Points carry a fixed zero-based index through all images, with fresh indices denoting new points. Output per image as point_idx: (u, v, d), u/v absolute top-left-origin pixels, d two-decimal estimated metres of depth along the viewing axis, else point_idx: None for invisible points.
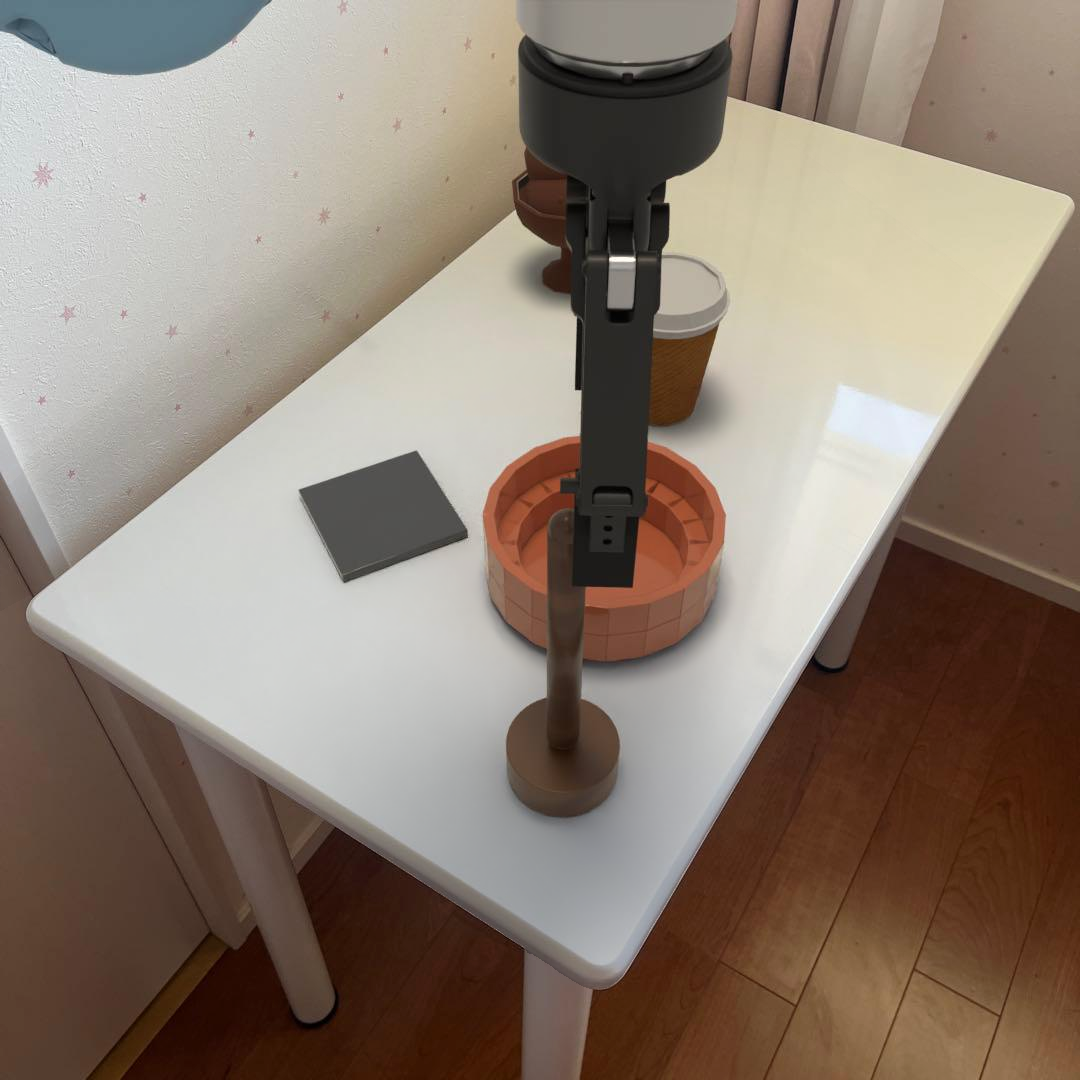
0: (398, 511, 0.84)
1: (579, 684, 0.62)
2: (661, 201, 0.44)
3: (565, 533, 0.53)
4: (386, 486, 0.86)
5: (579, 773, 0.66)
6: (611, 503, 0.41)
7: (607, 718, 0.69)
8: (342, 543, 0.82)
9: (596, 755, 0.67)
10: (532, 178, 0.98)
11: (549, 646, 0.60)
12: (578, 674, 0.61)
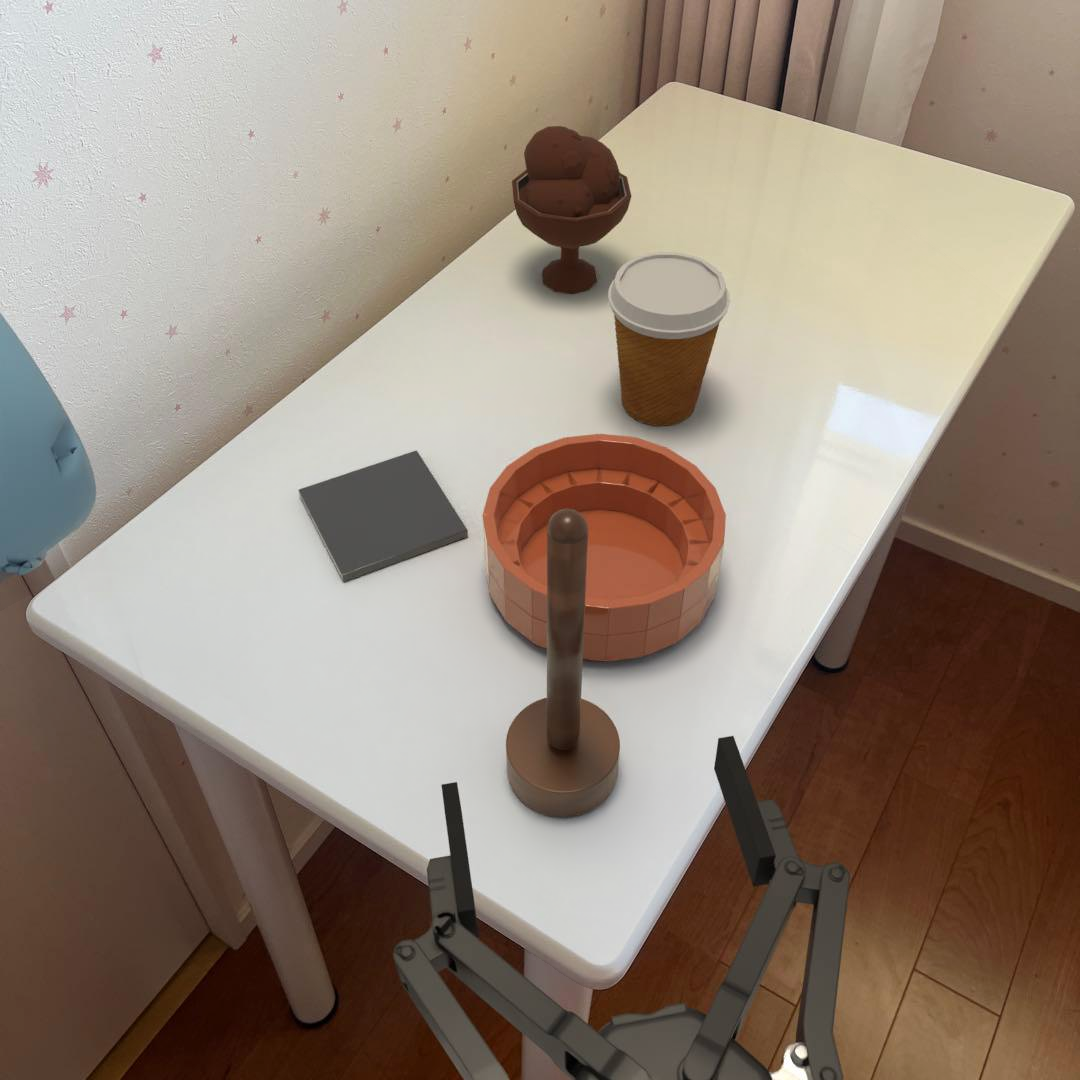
0: (398, 511, 0.84)
1: (579, 684, 0.62)
2: None
3: (565, 533, 0.53)
4: (386, 486, 0.86)
5: (579, 773, 0.66)
6: (400, 972, 0.48)
7: (607, 718, 0.69)
8: (342, 543, 0.82)
9: (596, 755, 0.67)
10: (532, 178, 0.98)
11: (549, 646, 0.60)
12: (578, 674, 0.61)
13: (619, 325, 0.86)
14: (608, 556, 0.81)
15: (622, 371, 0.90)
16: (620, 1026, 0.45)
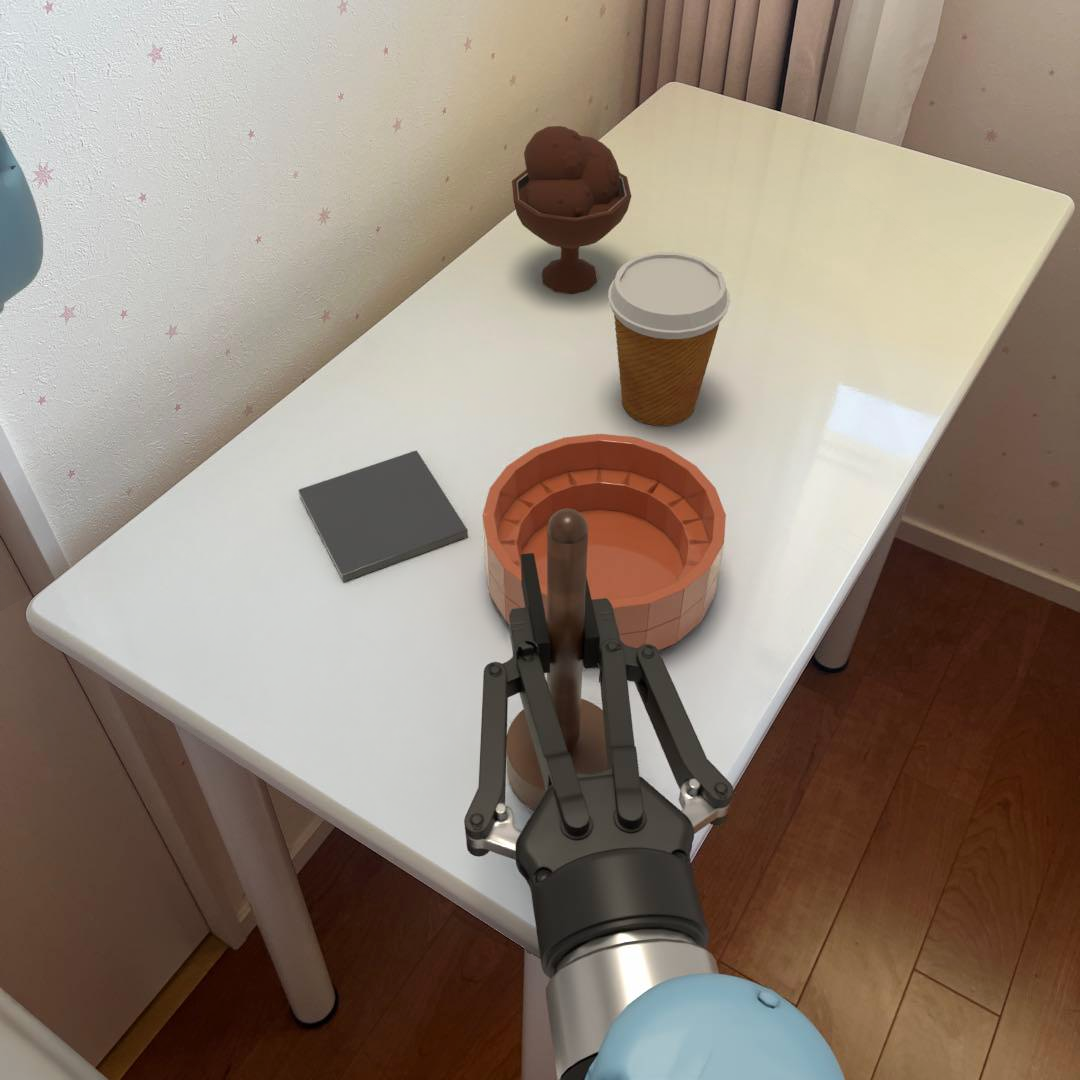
0: (398, 511, 0.84)
1: (579, 684, 0.62)
2: None
3: (565, 533, 0.53)
4: (386, 486, 0.86)
5: None
6: None
7: None
8: (342, 543, 0.82)
9: (596, 755, 0.67)
10: (532, 178, 0.98)
11: None
12: (578, 674, 0.61)
13: (619, 325, 0.86)
14: (608, 556, 0.81)
15: (622, 371, 0.90)
16: None
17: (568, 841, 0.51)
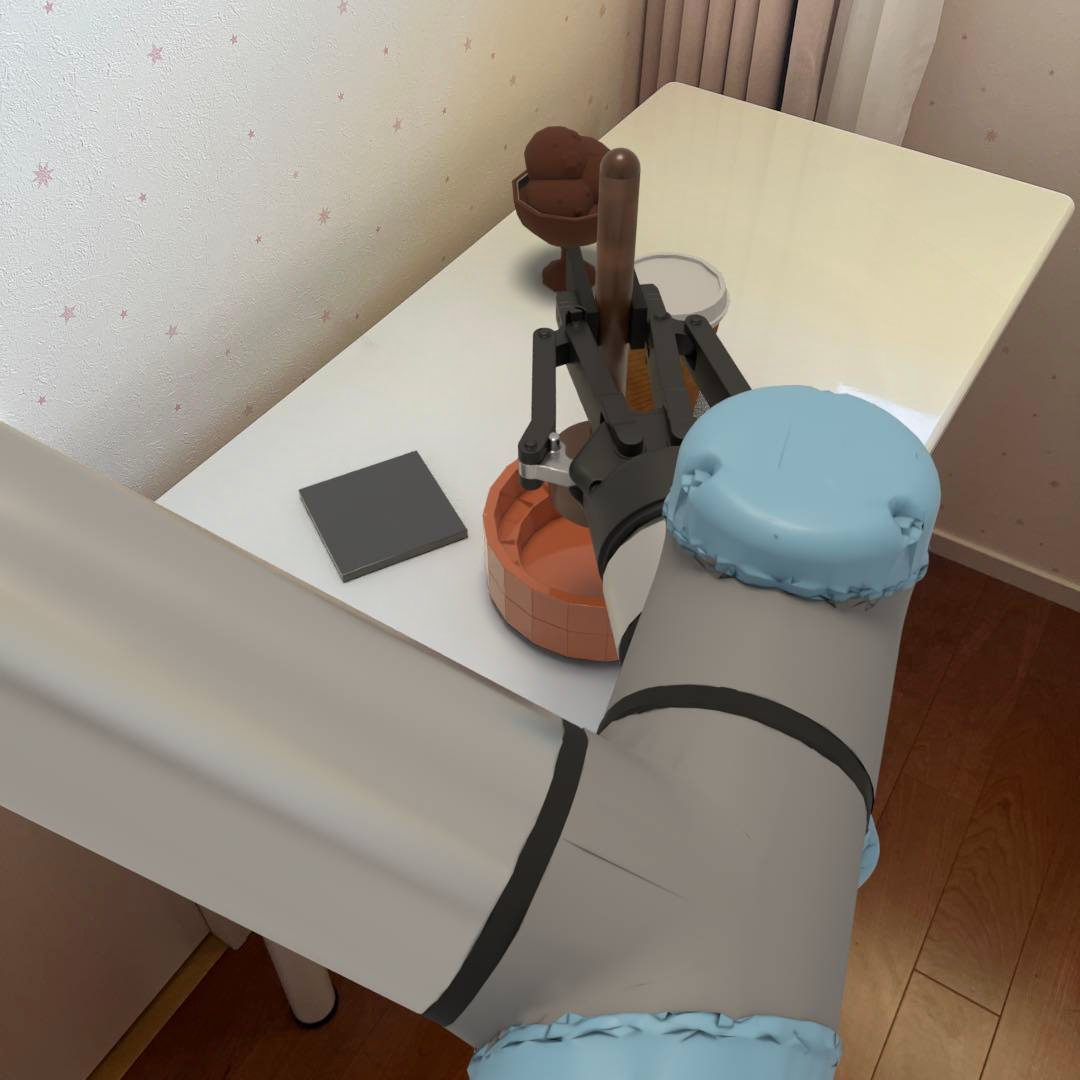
0: (398, 511, 0.84)
1: (624, 373, 0.63)
2: None
3: (619, 166, 0.53)
4: (386, 486, 0.86)
5: None
6: None
7: None
8: (342, 543, 0.82)
9: None
10: (532, 178, 0.98)
11: None
12: (624, 359, 0.62)
13: None
14: None
15: None
16: None
17: (622, 461, 0.51)
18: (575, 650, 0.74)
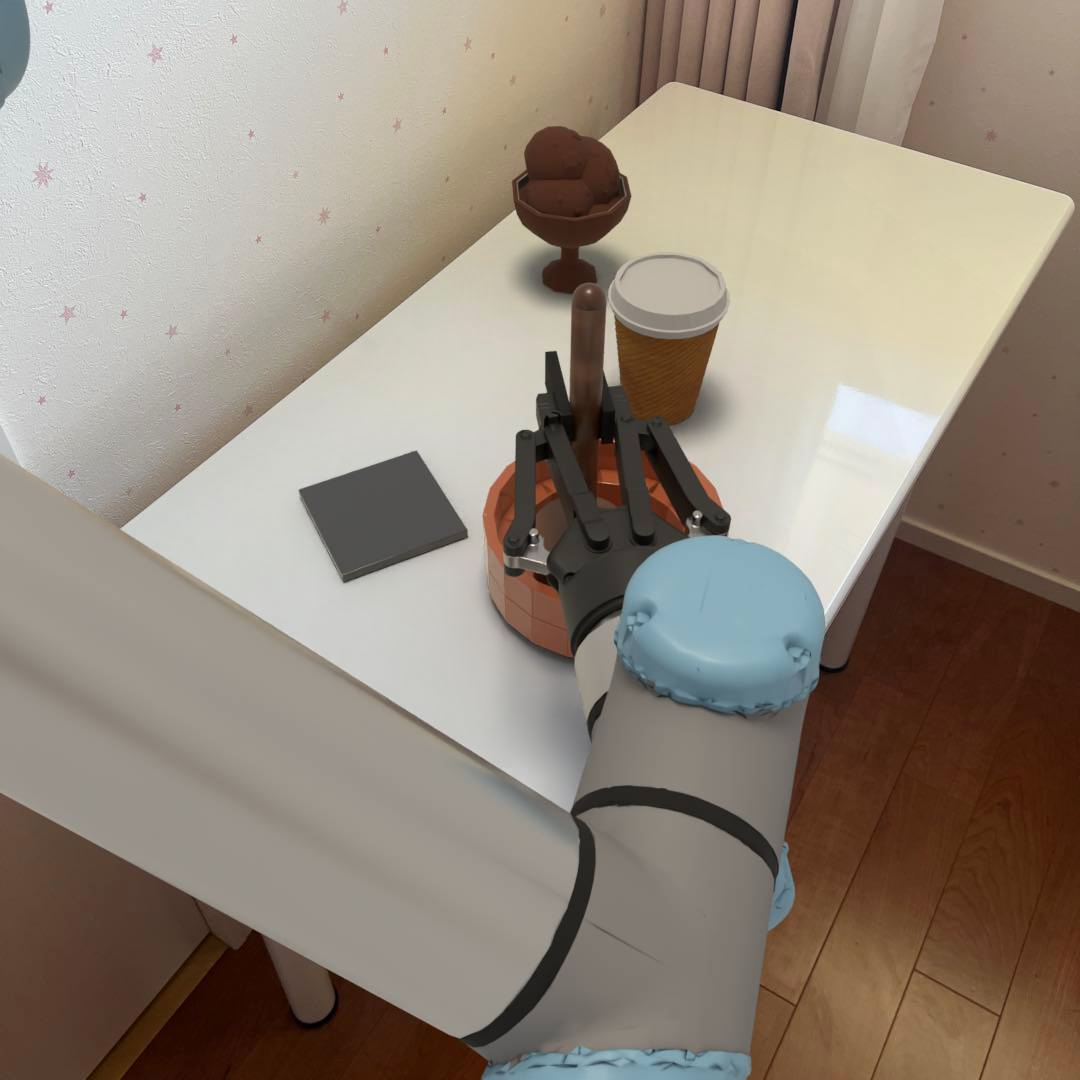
0: (398, 511, 0.84)
1: (596, 463, 0.72)
2: None
3: (588, 300, 0.62)
4: (386, 486, 0.86)
5: None
6: None
7: None
8: (342, 543, 0.82)
9: None
10: (532, 178, 0.98)
11: None
12: (596, 451, 0.71)
13: (619, 325, 0.86)
14: None
15: (622, 371, 0.90)
16: None
17: (591, 554, 0.60)
18: None
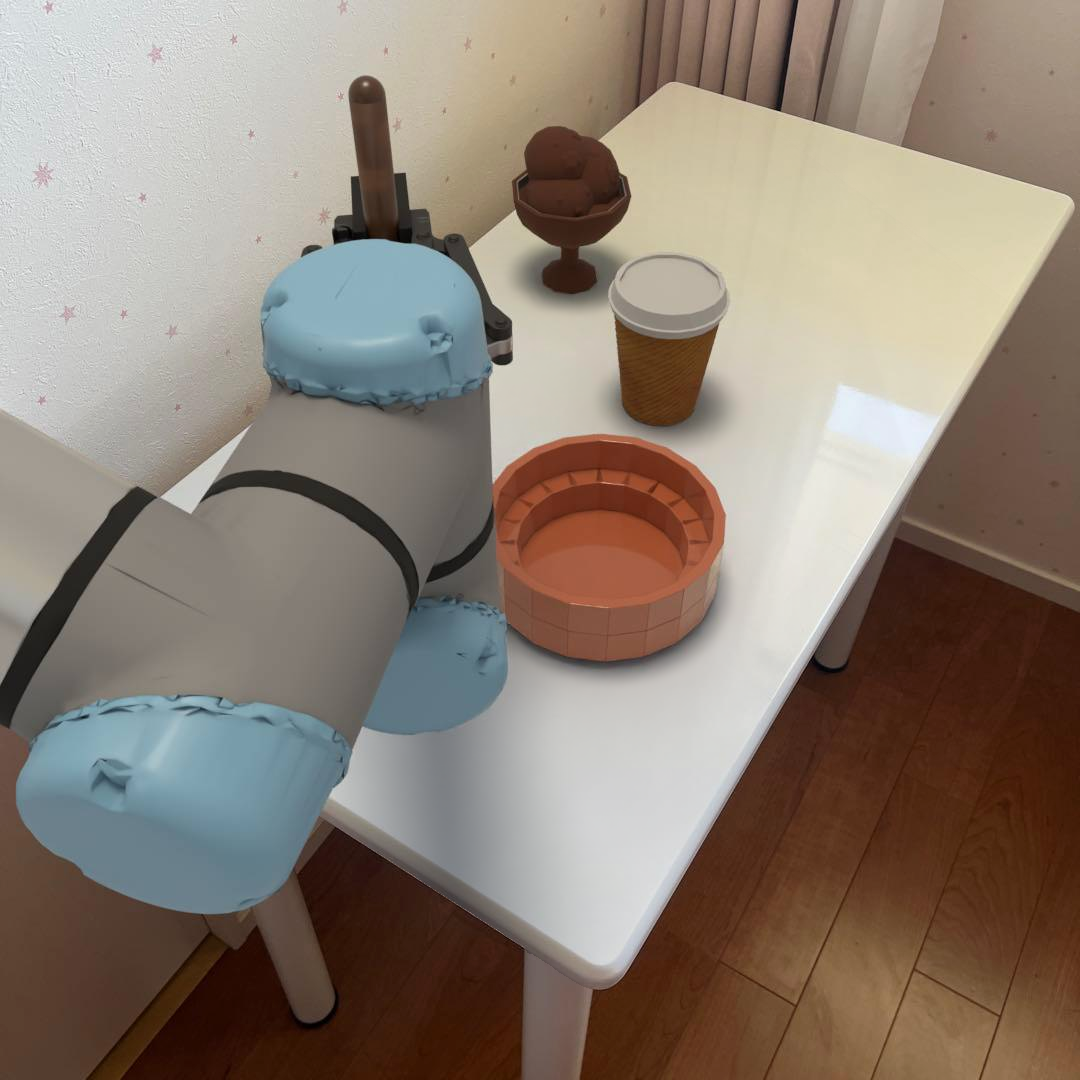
0: None
1: None
2: None
3: (362, 92, 0.59)
4: None
5: None
6: None
7: None
8: None
9: None
10: (532, 178, 0.98)
11: None
12: None
13: (619, 325, 0.86)
14: (608, 556, 0.81)
15: (622, 371, 0.90)
16: None
17: None
18: (575, 650, 0.74)
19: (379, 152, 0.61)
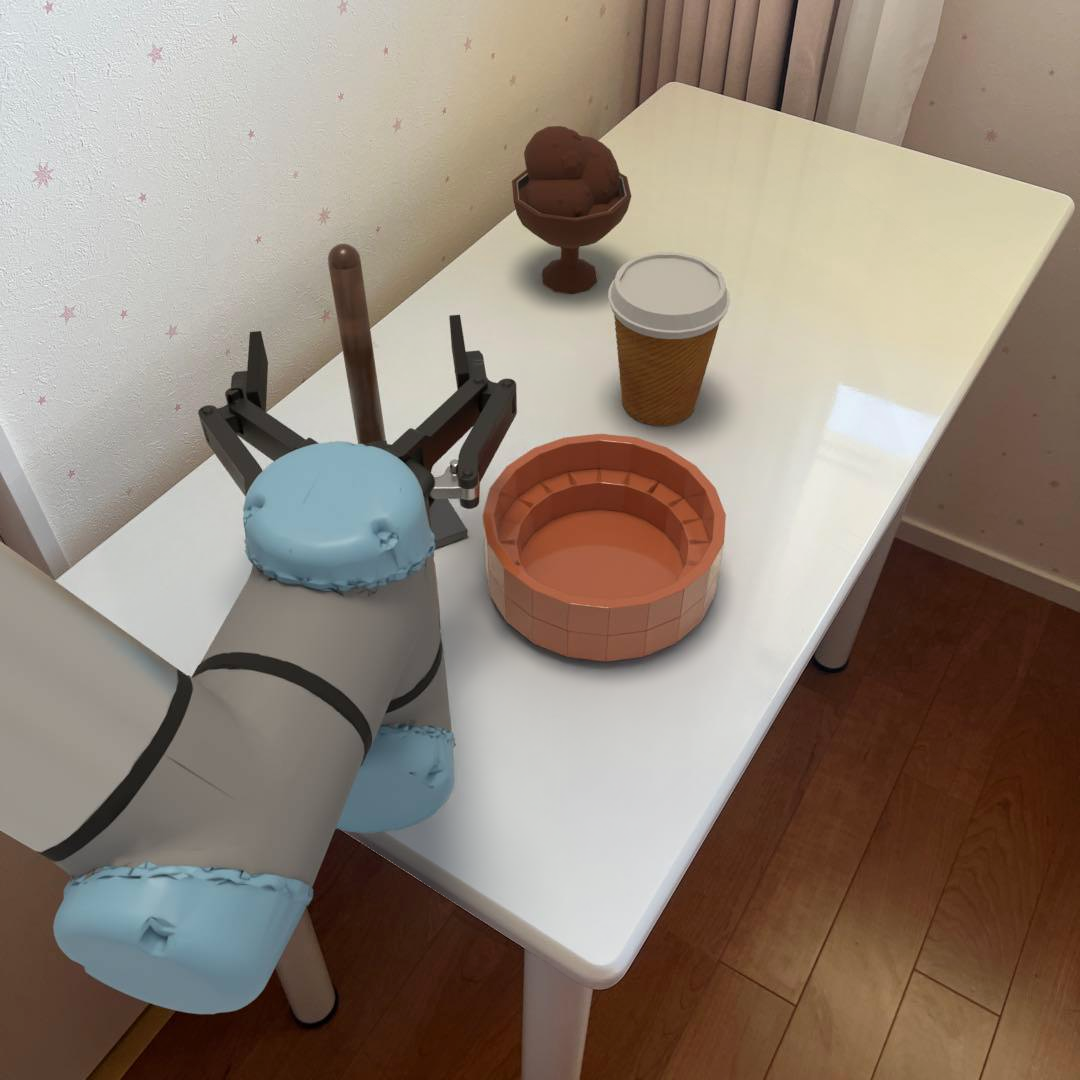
0: None
1: (378, 416, 0.77)
2: None
3: (339, 259, 0.67)
4: None
5: None
6: (204, 428, 0.70)
7: None
8: None
9: None
10: (532, 178, 0.98)
11: (347, 376, 0.74)
12: (375, 405, 0.76)
13: (619, 325, 0.86)
14: (608, 556, 0.81)
15: (622, 371, 0.90)
16: None
17: None
18: (575, 650, 0.74)
19: (355, 306, 0.70)
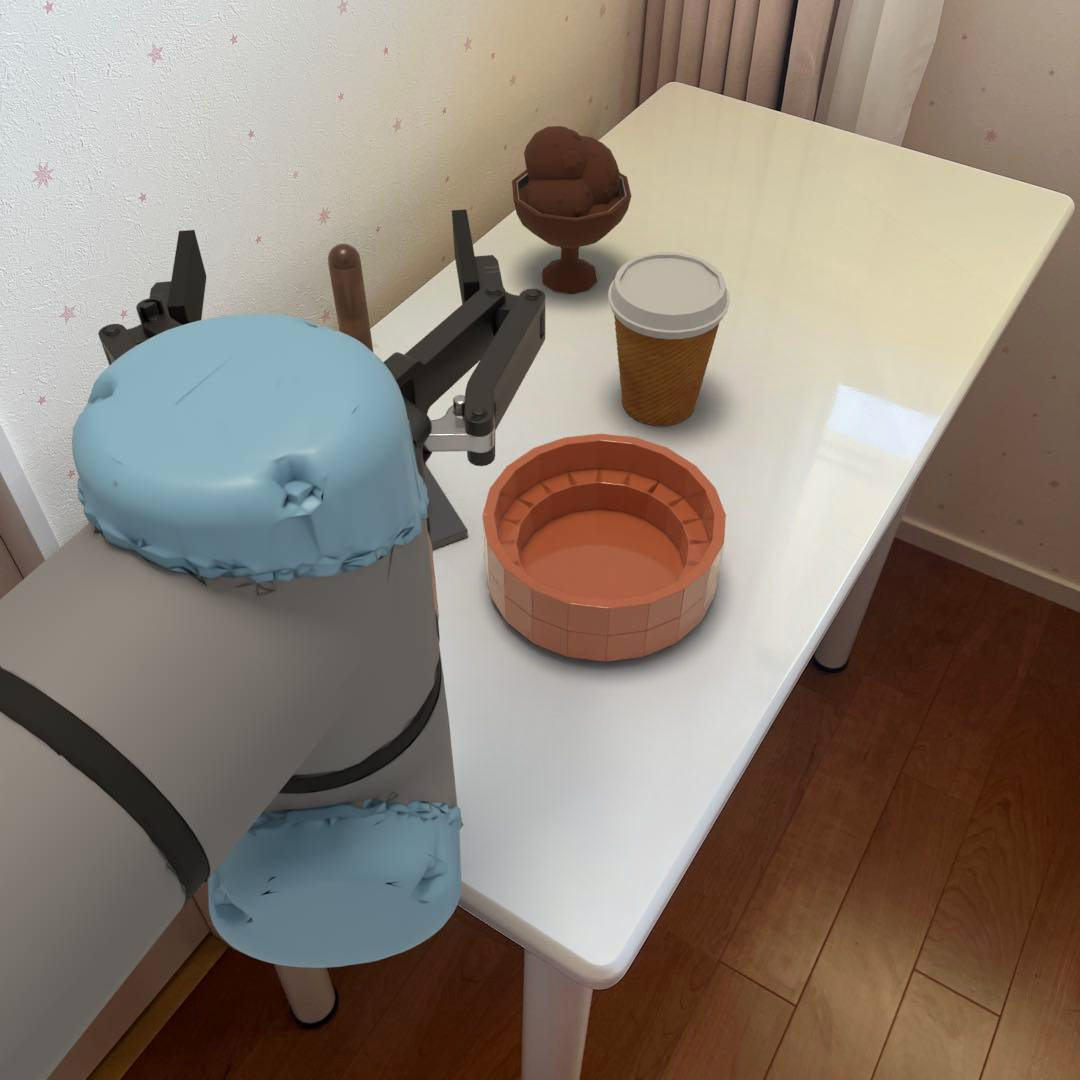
0: None
1: None
2: None
3: (339, 259, 0.67)
4: None
5: None
6: (108, 357, 0.50)
7: None
8: None
9: None
10: (532, 178, 0.98)
11: None
12: None
13: (619, 325, 0.86)
14: (608, 556, 0.81)
15: (622, 371, 0.90)
16: None
17: None
18: (575, 650, 0.74)
19: (355, 306, 0.70)
